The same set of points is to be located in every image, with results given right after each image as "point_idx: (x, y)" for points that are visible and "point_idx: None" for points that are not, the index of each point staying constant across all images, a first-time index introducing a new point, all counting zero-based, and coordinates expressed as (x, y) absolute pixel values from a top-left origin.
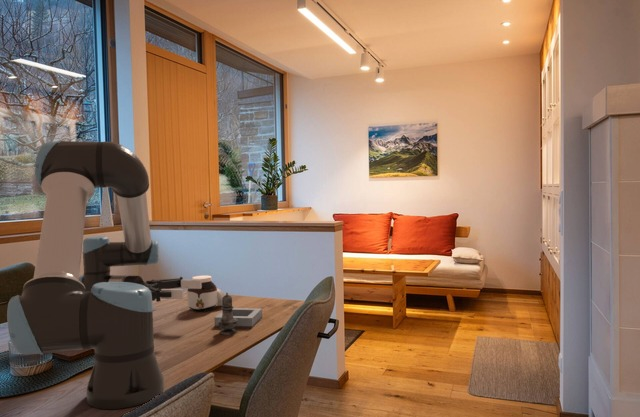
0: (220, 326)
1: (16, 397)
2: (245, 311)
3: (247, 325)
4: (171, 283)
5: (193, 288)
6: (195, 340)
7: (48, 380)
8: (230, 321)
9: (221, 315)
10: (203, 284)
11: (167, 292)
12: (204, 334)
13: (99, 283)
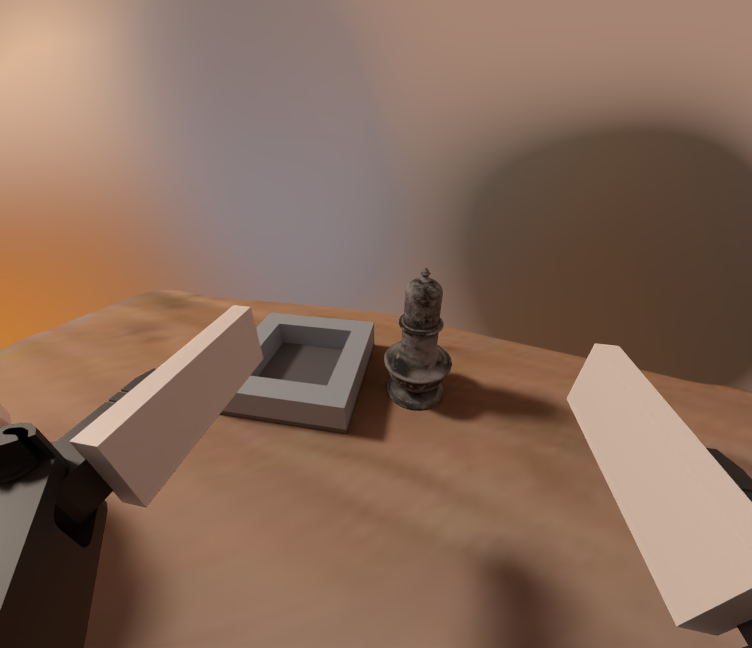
0: (436, 386)
1: None
2: (266, 344)
3: (371, 347)
4: (27, 636)
5: (233, 395)
6: (528, 471)
7: None
8: (439, 348)
9: (319, 390)
10: None
11: (740, 477)
12: (445, 453)
13: None
